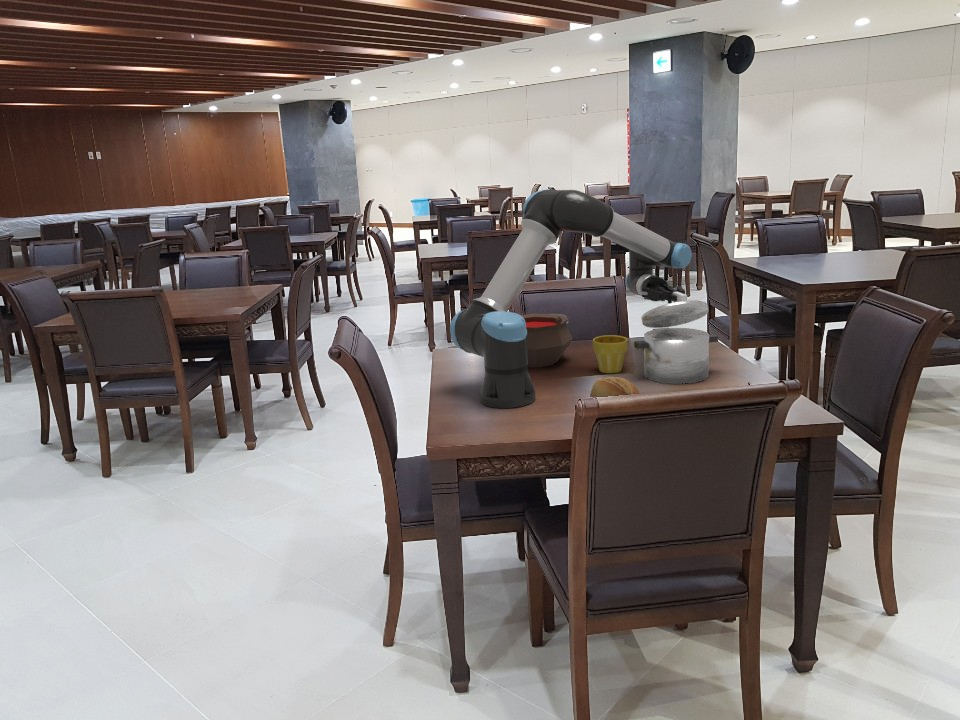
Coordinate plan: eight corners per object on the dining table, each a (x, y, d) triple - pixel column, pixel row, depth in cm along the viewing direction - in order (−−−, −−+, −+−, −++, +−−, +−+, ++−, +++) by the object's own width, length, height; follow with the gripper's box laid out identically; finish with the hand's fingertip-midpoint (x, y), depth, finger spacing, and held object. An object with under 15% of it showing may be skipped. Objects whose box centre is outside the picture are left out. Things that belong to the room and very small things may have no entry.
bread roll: (625, 419, 179) (625, 388, 177) (580, 406, 190) (579, 376, 188) (650, 409, 184) (650, 379, 182) (605, 397, 196) (604, 368, 194)
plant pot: (627, 375, 214) (627, 343, 212) (592, 375, 216) (591, 343, 214) (628, 365, 224) (628, 334, 221) (594, 365, 226) (593, 335, 223)
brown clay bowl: (483, 363, 236) (480, 314, 232) (535, 348, 251) (533, 302, 247) (536, 376, 218) (534, 323, 214) (588, 359, 234) (587, 309, 229)
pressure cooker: (647, 387, 201) (647, 345, 198) (622, 368, 221) (622, 330, 218) (729, 379, 204) (730, 337, 201) (697, 361, 224) (698, 323, 221)
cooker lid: (654, 309, 198) (652, 296, 199) (634, 330, 216) (631, 318, 217) (719, 303, 200) (716, 291, 201) (693, 324, 218) (691, 313, 219)
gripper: (672, 297, 229) (706, 311, 207) (632, 301, 228) (662, 315, 205) (672, 274, 227) (706, 285, 205) (632, 277, 226) (662, 288, 203)
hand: (684, 300), depth 205 cm, fingers closed
